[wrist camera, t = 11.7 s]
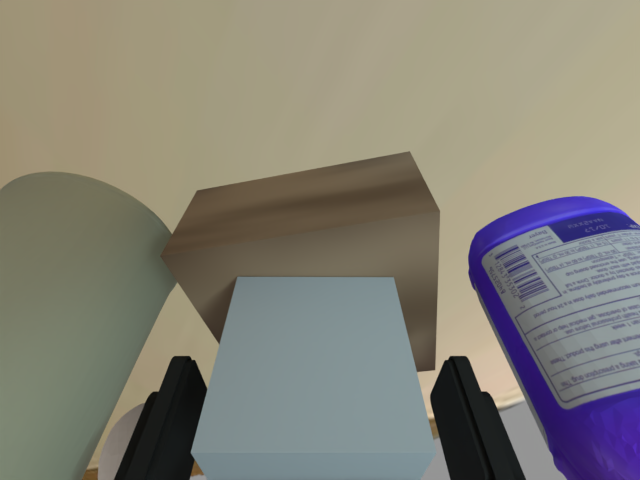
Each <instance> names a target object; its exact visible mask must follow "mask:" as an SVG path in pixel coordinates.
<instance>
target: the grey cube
mask: <svg viewBox="0 0 640 480" xmlns="http://www.w3.org/2000/svg"><path fill="white" fill-rule="evenodd" d="M436 453H437V452H436V448H435V444H434V440H433V436H432V432H431V428H430V424H429V420H428V416H427V411H426V407H425V403H424V399H423V395H422V391H421V387H420V383H419V379H418V375H417V371H416V366H415V362H414V358H413V354H412V350H411V346H410V342H409V338H408V334H407V330H406V326H405V322H404V317H403V313H402V309H401V305H400V301H399V297H398V293H397V289H396V285H395V281H394V277H237V280H236V284H235V288H234V292H233V296H232V299H231V303H230V307H229V311H228V314H227V318H226V322H225V326H224V329H223V333H222V337H221V341H220V344H219V348H218V352H217V356H216V359H215V363H214V367H213V371H212V374H211V378H210V382H209V386H208V390H207V393H206V397H205V401H204V405H203V408H202V412H201V416H200V420H199V423H198V427H197V431H196V435H195V438H194V442H193V446H192V450H191V454H192V456H193V457H194V459H195V460H196V462H197V464H198V465H199V467H200V468H201V470H202V472H203V473H204V475H205V476H206V478H207V479H208V480H420V479H421V478H422V476H423V474H424V473H425V471H426V469H427V468H428V466H429V464H430V463H431V461H432V459H433V458H434V456H435V455H436Z"/></svg>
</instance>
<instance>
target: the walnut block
mask: <svg viewBox="0 0 640 480" xmlns="http://www.w3.org/2000/svg"><path fill="white" fill-rule="evenodd" d="M439 231H440V210H439V208H438V206H437V204H436V202H435V200H434V198H433V196H432V194H431V192H430V190H429V188H428V186H427V184H426V182H425V180H424V178H423V176H422V174H421V172H420V170H419V168H418V166H417V164H416V162H415V160H414V158H413V156H412V154H411V152H410V151H408V152H403V153H397V154H392V155H387V156H381V157H376V158H370V159H365V160H359V161H354V162H349V163H343V164H338V165H332V166H327V167H321V168H316V169H311V170H305V171H300V172H294V173H289V174H283V175H278V176H272V177H267V178H262V179H256V180H251V181H245V182H240V183H234V184H229V185H224V186H218V187H213V188H207V189H202V190H197V191H196V193H195V195H194V197H193V198H192V200H191V202H190V204H189V205H188V207H187V209H186V211H185V213H184V214H183V216H182V218H181V220H180V221H179V223H178V225H177V227H176V229H175V230H174V232H173V234H172V236H171V237H170V239H169V241H168V243H167V244H166V246H165V248H164V250H163V252H162V253H161V255H160V257H161V258H162V260H163V261H164V263H165V264H166V266H167V267H168V269H169V270H170V272H171V273H172V275H173V276H174V278H175V279H176V281H177V282H178V284H179V285H180V287H181V288H182V290H183V291H184V293H185V294H186V296H187V297H188V299H189V300H190V302H191V303H192V305H193V306H194V308H195V309H196V311H197V312H198V314H199V315H200V316H201V318H202V319H203V321H204V322H205V324H206V325H207V327H208V328H209V330H210V331H211V333H212V334H213V336H214V337H215V339H216V340H217V342H218V343H219V344H220V341H221V337H222V333H223V329H224V326H225V322H226V318H227V314H228V311H229V307H230V303H231V299H232V296H233V292H234V288H235V284H236V280H237V277H394V281H395V285H396V289H397V293H398V297H399V301H400V305H401V309H402V313H403V317H404V322H405V326H406V330H407V334H408V338H409V342H410V346H411V350H412V354H413V358H414V362H415V366H416V371H417V372H424V371H433V370H435V364H436V331H437V298H438V265H439Z"/></svg>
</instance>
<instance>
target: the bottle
mask: <svg viewBox="0 0 640 480" xmlns="http://www.w3.org/2000/svg"><path fill="white" fill-rule="evenodd" d="M468 264H469V271H468V274H469V278H470V282H471V285H472V287H473V289H474V290H475V291H476V293H477V296H478V299H479V302H480V304H481V306H482V308H483V310H484V312H485V315H486V317H487V319H488V321H489V323H490V325H491V327H492V330H493V332H494V334H495V336H496V338H497V340H498V342H499V345H500V347H501V349H502V351H503V353H504V355H505V357H506V359H507V361H508V364H509V366H510V368H511V370H512V372H513V374H514V376H515V378H516V381H517V383H518V385H519V387H520V389H521V391H522V393H523V395H524V398H525V400H526V402H527V404H528V406H529V408H530V411H531V413H532V415H533V417H534V419H535V421H536V424H537V426H538V428H539V430H540V432H541V434H542V436H543V439H544V441H545V443H546V445H547V447H548V449H549V451H550V452H551V454H552V456H553V461H554V465H555V466H556V468H557V470H558V471H560V472H561V473H562V474H563V475H564V476H565V477H566V479H567V480H640V225H638V224H637V223H636V222H635V221H634V220H632V219H631V218H630V217H629V216H628V215H627V214H626V213H625V212H624V211H622V210H621V209H619V208H618V207H616V206H614V205H612V204H610V203H608V202H605V201H602V200H599V199H596V198H592V197H585V196H571V197H562V198H556V199H551V200H547V201H543V202H539V203H536V204H533V205H530V206H527V207H524V208H521V209H519V210H516V211H514V212H511V213H509V214H507V215H504V216H502V217H500V218H498V219H496V220H494V221H492V222H491V223H489V224H488V225H486V226H485V227H483V228H482V229H480V230H479V231H478V232H477V233H476V234H475V236H474V238H473V240H472V242H471V245H470V250H469V255H468Z"/></svg>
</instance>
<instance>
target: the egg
mask: <svg viewBox="0 0 640 480" xmlns="http://www.w3.org/2000/svg"><path fill="white" fill-rule="evenodd" d="M144 404H145V403H142V404H140V405H138V406H136V407H134V408H133V409H131V410H130V411H128V412H127V413H125V414H124V415H123V416H122V417H121V418H120V419H119V420H118V421H117V423H116V424H115V425H114V427H113V428H112V429H111V431H110V433H109V435H108V437H107V439H106V441H105V444H104V446H103V448H102V451H101V455H100V459H99V466H98V480H114V478H115V476H116V473H117V471H118V468H119V466H120V463H121V461H122V458H123V456H124V453H125V451H126V449H127V446H128V444H129V441H130V439H131V436H132V434H133V431H134V429H135V426H136V424H137V422H138V419H139V417H140V414H141V412H142V409H143V407H144Z"/></svg>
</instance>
